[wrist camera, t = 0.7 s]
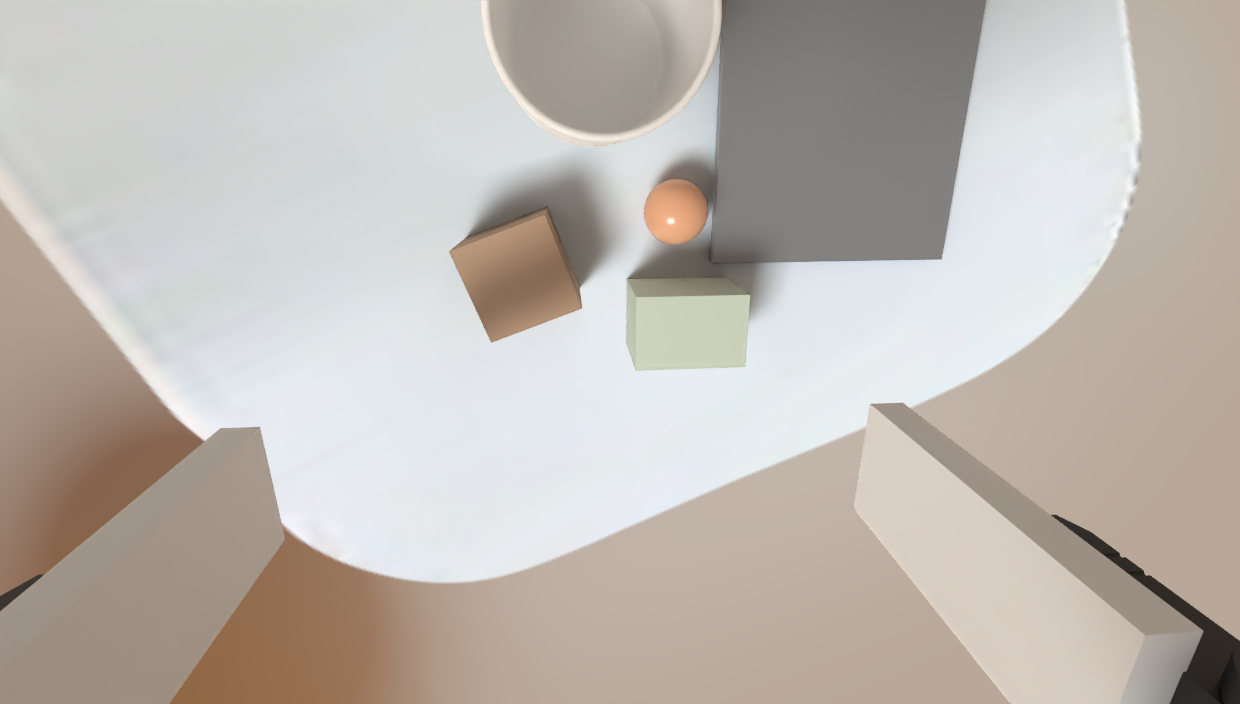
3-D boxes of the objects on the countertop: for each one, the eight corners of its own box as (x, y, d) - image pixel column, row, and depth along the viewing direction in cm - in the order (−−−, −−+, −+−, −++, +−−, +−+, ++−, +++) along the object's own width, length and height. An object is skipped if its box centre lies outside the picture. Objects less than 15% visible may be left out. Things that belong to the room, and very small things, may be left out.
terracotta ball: (640, 177, 33) (648, 179, 30) (701, 177, 33) (716, 179, 30) (639, 240, 34) (647, 249, 31) (698, 239, 34) (713, 248, 31)
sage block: (626, 278, 35) (636, 297, 30) (725, 276, 35) (750, 294, 31) (626, 342, 36) (635, 370, 31) (721, 340, 37) (745, 366, 32)
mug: (557, -140, 28) (554, -310, 18) (702, 76, 32) (768, 38, 21) (425, -16, 29) (352, -109, 19) (579, 180, 33) (587, 189, 23)
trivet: (723, -8, 30) (727, -13, 30) (976, -2, 32) (986, -6, 31) (710, 260, 35) (713, 263, 34) (933, 257, 36) (941, 259, 35)
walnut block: (465, 238, 33) (448, 251, 28) (547, 206, 33) (544, 214, 28) (501, 317, 35) (491, 342, 30) (579, 287, 35) (582, 308, 30)
